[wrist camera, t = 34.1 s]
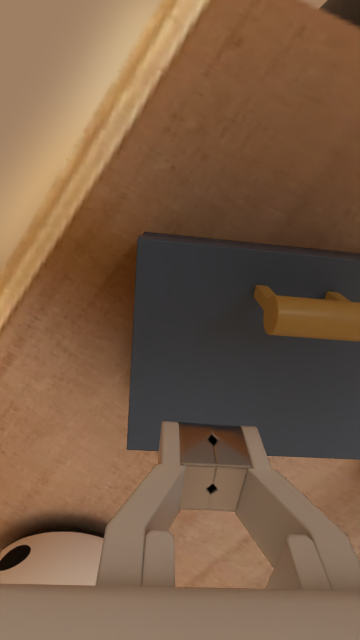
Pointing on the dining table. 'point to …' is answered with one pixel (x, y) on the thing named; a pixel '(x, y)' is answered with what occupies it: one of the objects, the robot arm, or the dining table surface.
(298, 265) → the lid
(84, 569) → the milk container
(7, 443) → the dining table surface
